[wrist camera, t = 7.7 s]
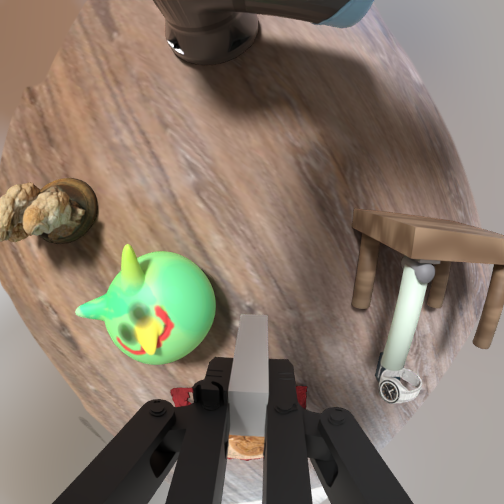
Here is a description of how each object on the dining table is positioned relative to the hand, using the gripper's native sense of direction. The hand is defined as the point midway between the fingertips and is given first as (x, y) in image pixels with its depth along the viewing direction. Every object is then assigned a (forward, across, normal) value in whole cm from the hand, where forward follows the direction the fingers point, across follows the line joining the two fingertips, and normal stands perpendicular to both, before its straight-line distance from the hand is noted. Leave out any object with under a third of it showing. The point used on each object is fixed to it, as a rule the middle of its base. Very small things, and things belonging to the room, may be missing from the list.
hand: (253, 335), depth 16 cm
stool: (+29, +24, -3) cm, 38 cm away
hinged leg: (+14, +17, -5) cm, 22 cm away
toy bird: (+29, -15, -10) cm, 34 cm away
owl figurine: (+30, -37, +4) cm, 47 cm away
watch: (+29, +26, -24) cm, 46 cm away
